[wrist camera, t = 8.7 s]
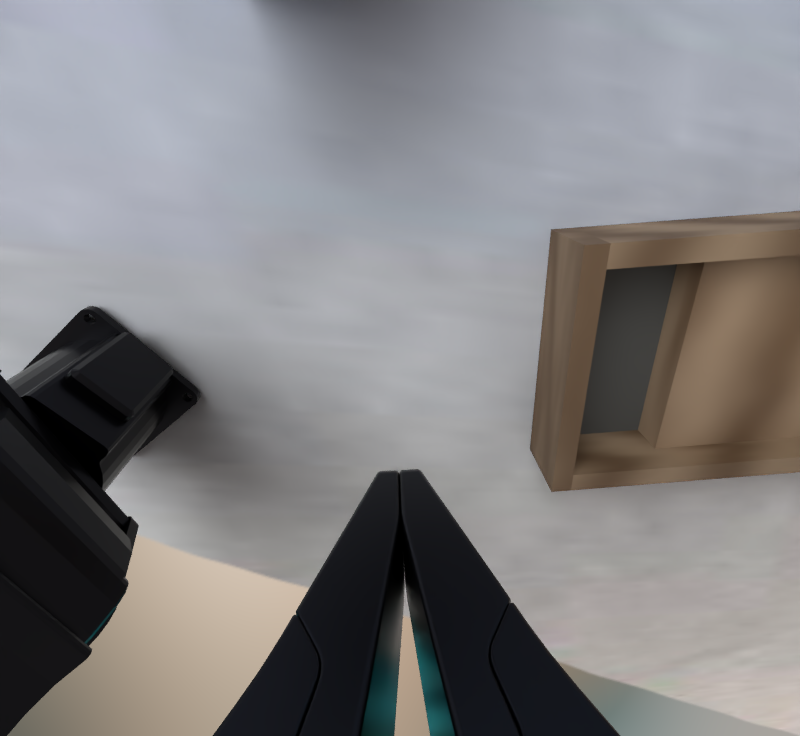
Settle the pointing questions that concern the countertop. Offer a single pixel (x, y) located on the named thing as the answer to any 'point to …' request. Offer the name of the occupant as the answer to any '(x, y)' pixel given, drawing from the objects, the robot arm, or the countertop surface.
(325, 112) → the countertop surface
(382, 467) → the countertop surface
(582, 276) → the box
